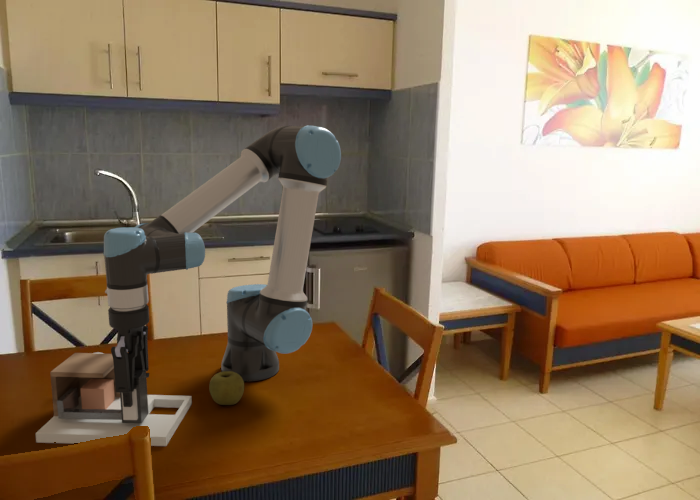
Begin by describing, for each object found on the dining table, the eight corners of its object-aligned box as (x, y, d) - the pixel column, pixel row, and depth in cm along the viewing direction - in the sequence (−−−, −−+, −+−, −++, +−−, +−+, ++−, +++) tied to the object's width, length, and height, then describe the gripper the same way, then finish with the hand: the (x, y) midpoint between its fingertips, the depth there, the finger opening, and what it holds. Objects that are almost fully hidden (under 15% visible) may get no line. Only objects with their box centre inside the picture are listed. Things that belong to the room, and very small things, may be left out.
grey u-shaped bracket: (154, 405, 121) (151, 362, 119) (141, 423, 114) (138, 377, 112) (73, 404, 121) (69, 361, 119) (55, 421, 114) (51, 376, 112)
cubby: (125, 395, 128) (123, 354, 126) (105, 417, 118) (103, 373, 116) (78, 393, 128) (75, 352, 126) (54, 416, 118) (50, 371, 116)
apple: (214, 395, 134) (213, 367, 132) (247, 396, 133) (247, 368, 132) (205, 410, 126) (204, 380, 125) (240, 411, 126) (240, 382, 125)
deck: (191, 404, 129) (191, 396, 128) (166, 446, 111) (165, 437, 111) (79, 400, 129) (79, 392, 128) (36, 442, 111) (35, 433, 111)
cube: (114, 399, 125) (113, 379, 125) (105, 410, 121) (103, 389, 120) (92, 399, 125) (91, 378, 125) (82, 409, 121) (80, 388, 120)
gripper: (126, 293, 119) (132, 394, 124) (90, 319, 102) (99, 434, 107) (161, 293, 119) (166, 394, 124) (130, 320, 102) (138, 435, 107)
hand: (135, 413), depth 115 cm, fingers closed on grey u-shaped bracket, 4 cm apart
